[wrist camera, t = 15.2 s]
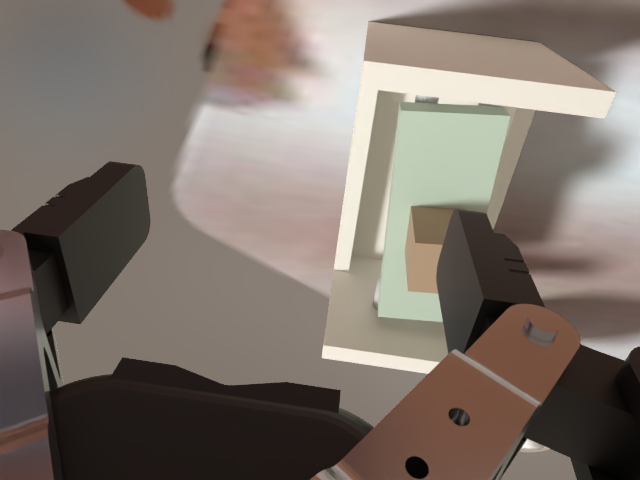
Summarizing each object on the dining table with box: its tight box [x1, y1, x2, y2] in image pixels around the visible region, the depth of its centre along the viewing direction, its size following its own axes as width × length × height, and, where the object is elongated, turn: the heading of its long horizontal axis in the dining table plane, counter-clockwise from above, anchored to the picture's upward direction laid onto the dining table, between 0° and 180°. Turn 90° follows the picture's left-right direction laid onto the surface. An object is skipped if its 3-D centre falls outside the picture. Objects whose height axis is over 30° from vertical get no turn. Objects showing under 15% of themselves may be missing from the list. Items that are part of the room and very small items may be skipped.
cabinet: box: [322, 22, 617, 374], centre depth 39 cm, size 14×24×15 cm, turn 175°
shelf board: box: [378, 102, 510, 322], centre depth 34 cm, size 18×7×7 cm, turn 179°
